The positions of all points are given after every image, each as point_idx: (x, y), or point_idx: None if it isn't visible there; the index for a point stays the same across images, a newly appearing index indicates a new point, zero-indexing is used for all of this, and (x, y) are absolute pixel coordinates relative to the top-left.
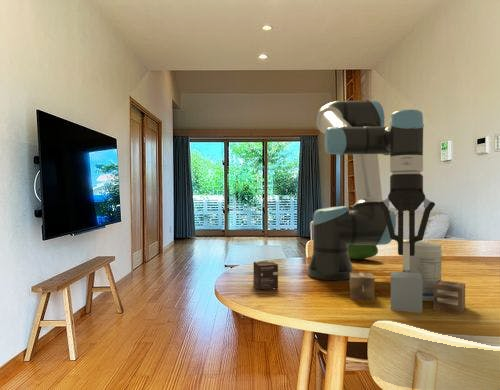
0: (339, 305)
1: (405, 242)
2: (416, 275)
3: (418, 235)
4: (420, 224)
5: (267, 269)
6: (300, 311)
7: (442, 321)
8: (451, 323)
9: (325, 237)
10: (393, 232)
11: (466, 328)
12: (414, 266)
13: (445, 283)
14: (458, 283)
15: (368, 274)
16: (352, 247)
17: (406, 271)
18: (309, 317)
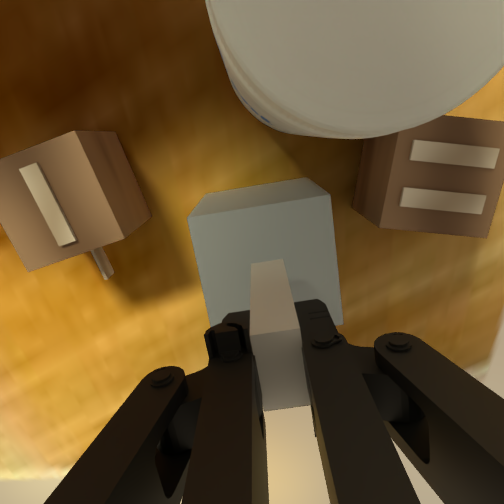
0: (73, 325)
1: (276, 374)
2: (314, 254)
3: (398, 442)
4: (476, 471)
5: None
6: (10, 424)
7: (374, 318)
8: (396, 323)
9: None
10: (179, 486)
11: (430, 342)
12: (297, 132)
13: (430, 191)
14: (488, 159)
15: (71, 170)
16: None
17: (248, 103)
18: (55, 450)
